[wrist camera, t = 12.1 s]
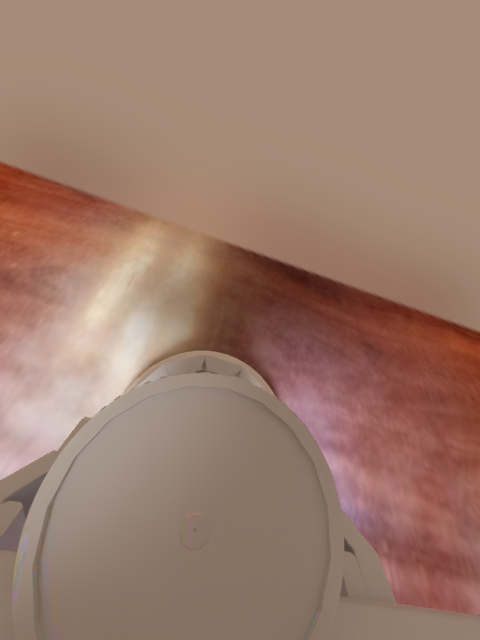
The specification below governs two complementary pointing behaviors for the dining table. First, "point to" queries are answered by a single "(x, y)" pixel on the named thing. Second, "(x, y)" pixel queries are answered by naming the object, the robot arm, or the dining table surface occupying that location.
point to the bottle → (183, 523)
